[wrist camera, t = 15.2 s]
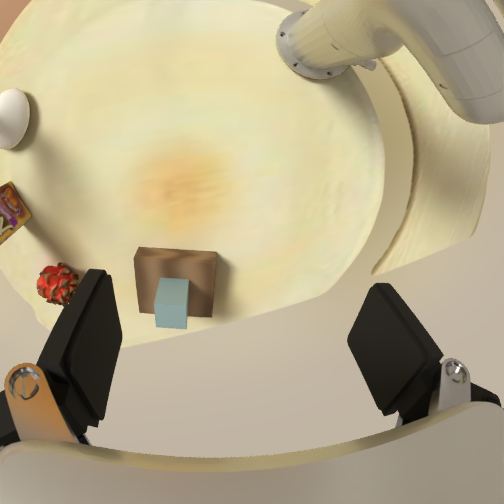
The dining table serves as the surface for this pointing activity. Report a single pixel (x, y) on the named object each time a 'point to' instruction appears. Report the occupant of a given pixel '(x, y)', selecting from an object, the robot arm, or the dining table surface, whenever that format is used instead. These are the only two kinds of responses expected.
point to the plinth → (176, 276)
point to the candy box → (11, 212)
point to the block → (172, 303)
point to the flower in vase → (13, 117)
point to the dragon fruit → (57, 284)
